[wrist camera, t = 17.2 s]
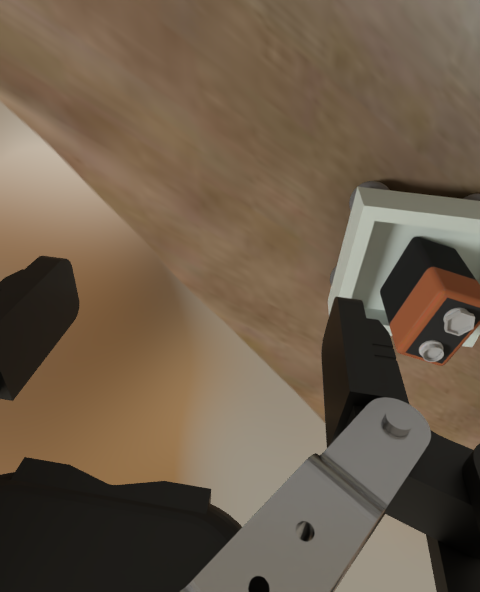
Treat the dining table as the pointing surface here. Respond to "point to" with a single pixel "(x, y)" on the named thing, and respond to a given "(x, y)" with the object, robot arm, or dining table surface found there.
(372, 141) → the dining table surface
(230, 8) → the dining table surface
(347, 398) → the robot arm
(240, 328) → the dining table surface
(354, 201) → the cart
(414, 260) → the battery
